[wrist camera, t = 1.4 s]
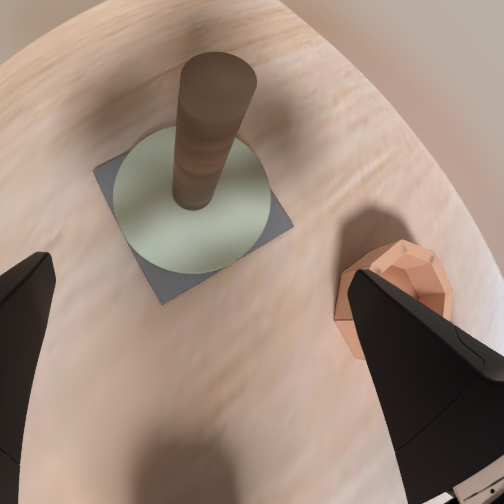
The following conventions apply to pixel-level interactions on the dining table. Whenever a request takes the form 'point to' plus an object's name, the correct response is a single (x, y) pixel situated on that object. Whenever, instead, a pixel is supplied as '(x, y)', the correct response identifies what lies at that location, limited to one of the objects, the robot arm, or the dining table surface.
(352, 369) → the dining table surface
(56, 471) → the dining table surface
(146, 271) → the mat
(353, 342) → the bowl
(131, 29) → the dining table surface
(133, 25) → the dining table surface
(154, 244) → the wooden peg on disc
